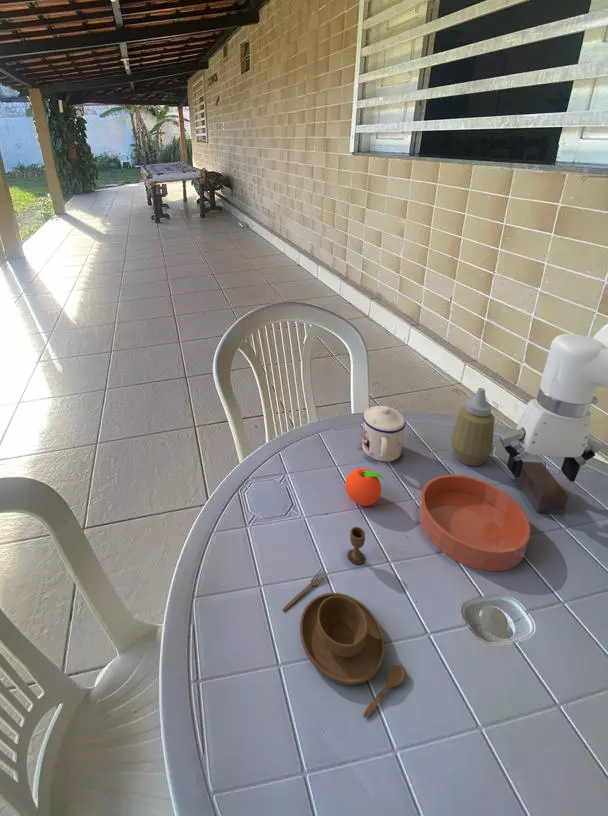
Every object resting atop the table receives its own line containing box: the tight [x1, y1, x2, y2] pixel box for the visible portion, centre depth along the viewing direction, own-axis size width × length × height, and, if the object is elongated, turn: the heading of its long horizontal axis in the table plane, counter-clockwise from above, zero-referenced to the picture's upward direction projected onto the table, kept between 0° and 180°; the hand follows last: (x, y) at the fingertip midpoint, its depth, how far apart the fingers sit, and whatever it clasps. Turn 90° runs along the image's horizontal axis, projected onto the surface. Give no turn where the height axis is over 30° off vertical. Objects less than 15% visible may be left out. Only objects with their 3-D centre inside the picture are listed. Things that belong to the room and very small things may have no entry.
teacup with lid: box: [361, 405, 407, 462], centre depth 96 cm, size 12×9×12 cm
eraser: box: [513, 461, 570, 516], centre depth 84 cm, size 4×9×4 cm, turn 172°
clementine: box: [344, 467, 386, 507], centre depth 85 cm, size 8×7×7 cm
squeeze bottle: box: [450, 387, 495, 467], centre depth 92 cm, size 8×8×18 cm
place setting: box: [282, 526, 406, 719], centre depth 64 cm, size 18×20×6 cm
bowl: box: [418, 474, 531, 572], centre depth 78 cm, size 17×17×4 cm
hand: (540, 474), depth 83 cm, fingers open, 9 cm apart
